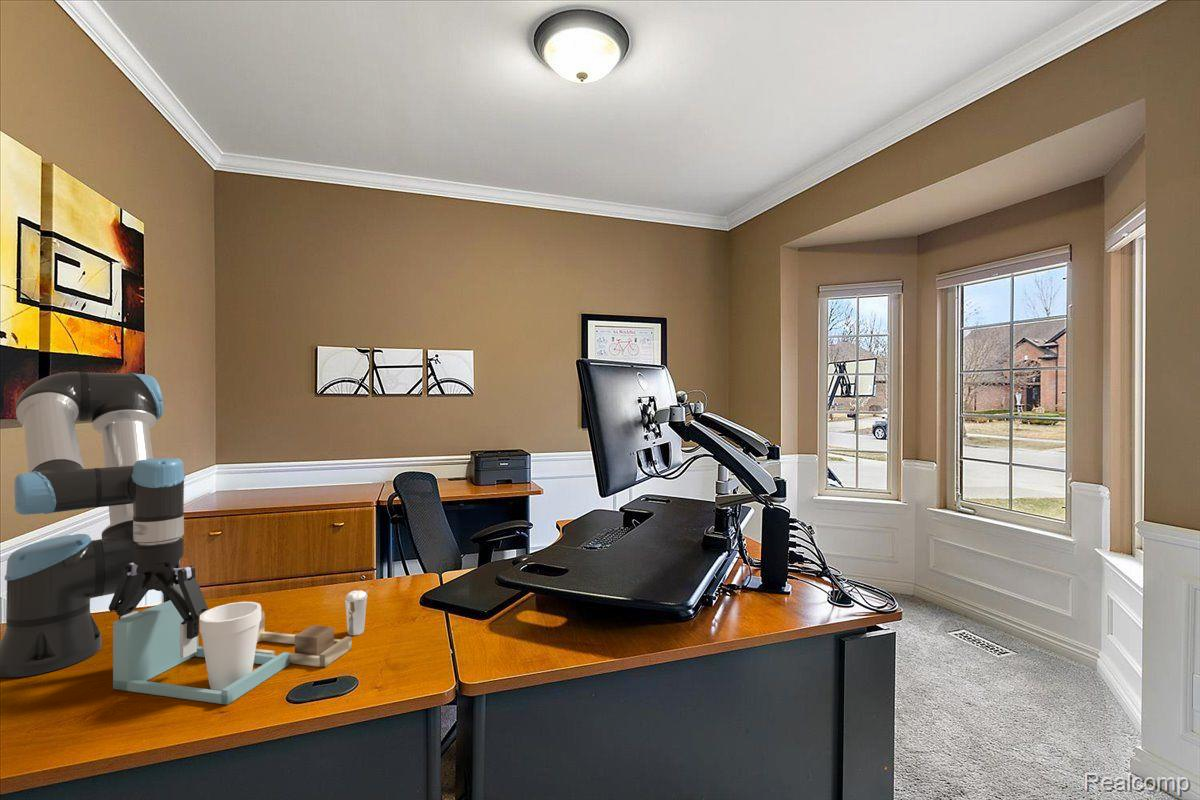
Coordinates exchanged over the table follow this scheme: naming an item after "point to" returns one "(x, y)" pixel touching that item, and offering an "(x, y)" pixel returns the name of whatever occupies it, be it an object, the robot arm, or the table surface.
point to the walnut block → (314, 640)
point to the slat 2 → (323, 654)
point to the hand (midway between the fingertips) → (158, 651)
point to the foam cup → (229, 641)
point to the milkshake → (356, 611)
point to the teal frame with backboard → (171, 657)
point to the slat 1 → (271, 636)
